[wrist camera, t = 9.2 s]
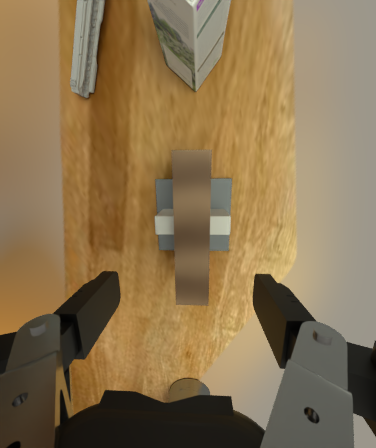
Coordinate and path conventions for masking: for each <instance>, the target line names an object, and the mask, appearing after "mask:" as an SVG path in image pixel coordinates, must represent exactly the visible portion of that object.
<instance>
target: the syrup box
mask: <svg viewBox="0 0 376 448" xmlns="http://www.w3.org/2000/svg"><path fill="white" fill-rule="evenodd" d="M230 2H231V0H148V4H149V7H150V11H151V14H152V17H153V21H154V24H155V28H156V31H157V34H158V38H159V41H160V45H161V48H162V51H163V55H164V58H165V62H166V65H167V66H168V67H169V68H170V69H171V70H172V71H173V72H175V73H176V74H177V75H178V76H179V77H180V78H181V79H182V80H183V81H184V82H186V83H187V84H188V85H189V86H190V87H191V88H192V89H193V90H194V91H195V92H196V91H197V90H198V89H199V87H200V86H201V84H202V83H203V81H204V80H205V79H206V77H207V76H208V74H209V73H210V71H211V70H212V69H213V67H214V66H215V64H216V63H217V62H218V60H219V59H220V57H221V54H222V47H223V40H224V35H225V29H226V23H227V18H228V13H229V7H230Z"/></svg>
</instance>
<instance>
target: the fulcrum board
mask: <svg viewBox="0 0 376 448" xmlns="http://www.w3.org/2000/svg"><path fill="white" fill-rule="evenodd" d="M155 180H156V199H157V215H156V216H155V231H156V234H158V237H159V250H174V215H173V181H172V179H155ZM231 189H232V179H231V178H230V179H211V205H210V251H229V235H230V223H231V216H230V210H231Z"/></svg>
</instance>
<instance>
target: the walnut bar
mask: <svg viewBox="0 0 376 448" xmlns="http://www.w3.org/2000/svg"><path fill="white" fill-rule="evenodd" d="M211 159H212V150H172V181H173V215H174V250H175V284H176V305H206V306H208V297H209V251H210V205H211Z"/></svg>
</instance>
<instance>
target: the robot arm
mask: <svg viewBox="0 0 376 448" xmlns="http://www.w3.org/2000/svg"><path fill="white" fill-rule="evenodd" d="M119 303H120V286H119V277H118V273H117V272H116V271H103V272H102V273H101V274H100V275H98V276H97V277H96V278H95V279H94V280H91V281H90V282H88V283H86V284H84V285H83V286H82V287H81V288H80V289H79V290H78V292H76V293H74V294H73V295H72V297H70V298H69V299H68V300H67V301H66V302H65V303H64V304H63V305H62V306H61V307H59V309H57V310H56V311H55V312H54V313H53V314H46V315H42V316H39V317H36V318H34V319H32V320H30V321H29V322H27V323H26V324H24V325H23V326H22V327H21V328H20V329H19V330H18V331H17V332H13V333H8V334H3V335H0V448H354V432H353V413H354V414H357V415H359V416H362V417H363V418H364V419H365V421H366V422H367V424H368V425H369V427H370V428H371V430H372V431H373V433H374V434H375V436H376V341H375V343H374V347H373V349H371V348H368V347H364V346H360V345H356V344H352V343H349V342H346V340H345V339H344V337H343V336H342V335H341V334H340V333H339V332H337V331H336V330H335V329H333V328H331V327H330V326H328V325H325V324H323V323H320V322H317V321H316V320H315V319H314V318H313V317H312V315H311V314H310V313H309V312H308V311H307V309H306V308H305V307H304V306H303V305H302V303H300V301H299V300H298V299H297V298H296V297H295V296H294V294H293V293H292V292H291V290H290V289H289V288H287V287H286V286H284V285H282V284H281V283H277V282H276V281H275V280H274V278H273V277H272V276H271V275H270V274H255V278H254V289H253V306H254V310H255V312H256V315H257V317H258V319H259V321H260V324H261V326H262V328H263V331H264V333H265V335H266V337H267V340H268V342H269V344H270V347H271V349H272V351H273V354H274V356H275V358H276V360H277V363H278V365H279V367H280V368H282V369H285V371H284V374H283V377H282V381H281V384H280V387H279V390H278V393H277V396H276V399H275V402H274V406H273V409H272V412H271V415H270V418H269V421H268V424H267V427H266V431H265V430H264V429H263V428H261V427H260V426H259V425H258V424H257V423H256V422H254V421H253V420H251V419H250V418H248V417H247V416H245V415H243V414H242V413H240V412H237V411H235V410H233V406H232V400H231V396H212V395H210V391H209V389H208V387H207V386H206V385H205V384H203V383H202V382H200V381H198V380H195V379H182V380H179V381H177V382H175V383H174V384H173V385H172V386H171V388H170V391H169V398H168V403H163V402H160V401H158V400H155V399H153V398H150V397H148V396H145V395H143V394H140V393H138V392H133V391H113V390H105V392H104V394H103V396H102V399H101V401H100V403H99V404H95V405H93V406H90V407H88V408H86V409H84V410H82V411H80V412H78V413H77V414H75V415H74V414H73V399H72V381H71V368H70V364H71V363H72V361H73V360H74V359H85V358H86V357H87V355H88V354H89V352H90V350H91V349H92V347H93V346H94V344H95V342H96V341H97V339H98V338H99V336H100V334H101V333H102V331H103V330H104V328H105V326H106V325H107V323H108V322H109V320H110V318H111V317H112V315H113V314H114V312H115V310H116V309H117V307H118V305H119Z"/></svg>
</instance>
